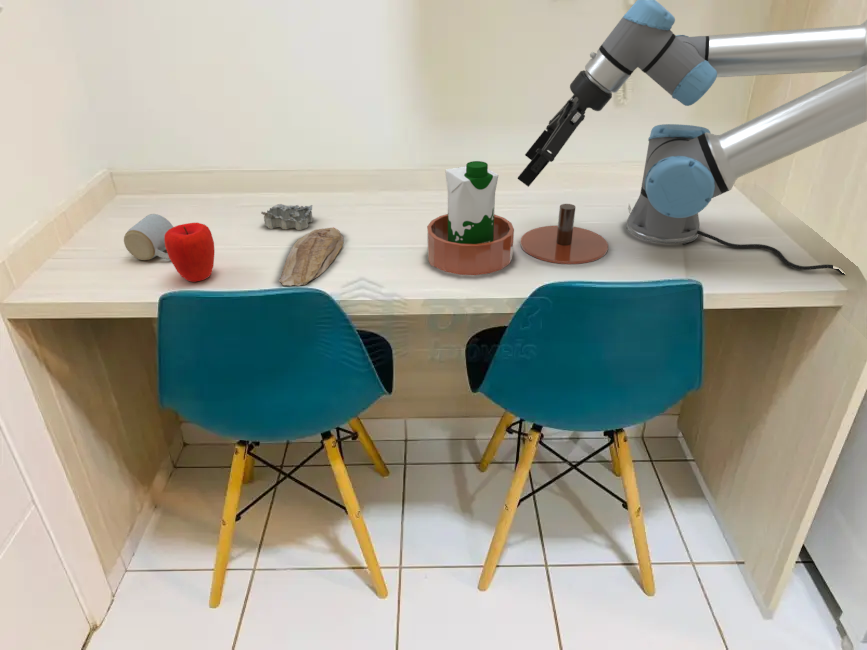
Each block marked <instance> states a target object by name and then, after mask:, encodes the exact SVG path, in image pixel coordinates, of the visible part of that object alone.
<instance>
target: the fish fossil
mask: <svg viewBox="0 0 867 650" xmlns="http://www.w3.org/2000/svg"><path fill="white" fill-rule="evenodd" d="M343 246H344V236H343V234H342V233H341V231H340V230H339V229H337V228H336V227H326V228H319V229H314V230H311V231H310V232H308V233H307V234H305V235H303V236H302V237H300V238H298V239H297V240H296V241H295V243H294V244H293V246H292V247H291V248H290V251H289V254H288V256H287V258H286V260H285V263H284V265H283V268H282V271H281V274H280V278H279V279H278V282H280V283H281V284H282V286H290V287H292V286H297V287H300V286H305V285H307V284H308V283H309V282H310V281H313V280H315V279H316V278H318V277H319V276H321V275H322V274H323V273H324V272H325V271H326V270H328V268H329V267H330V265H331V264H332V263H333V261H334V260H335V259H336V257H337V256H338V254H339V253H340V252H341V250H342V248H343Z"/></svg>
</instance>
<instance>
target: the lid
mask: <svg viewBox="0 0 867 650" xmlns="http://www.w3.org/2000/svg"><path fill="white" fill-rule="evenodd" d="M575 216H576V205H575V204H571V203H562V204H560V205H559V208H558V220H557V225H545V226H539V227H536V228H532V229H530V230H528V231H527V232H525V233H524V234H523V235H521V238H520V242H519V243H520V247H521V249H522V250H523V251H524V252H525V253H526V254H527V255H529V256H530V257H532V258H535V259H537V260H541V261H543V262H548V263H553V264H561V265H581V264H587V263H591V262H594V261H597V260H599V259H601V258H603V257H604V256H605V255H606V254H607V253H608V250H609V243H608V241H607V240H606V238H604V237H603V236H602V235H601V234H598V233H597V232H595V231H592V230H590V229H587V228H583V227H580V226H579V227H578V226H575V218H576V217H575Z"/></svg>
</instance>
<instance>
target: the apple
mask: <svg viewBox="0 0 867 650" xmlns="http://www.w3.org/2000/svg"><path fill="white" fill-rule="evenodd" d="M165 247H166V250H165V251H166V253H168V256H169V258H170V259H169V260H170V261H171V263H172V265H173V267H174V268H175V270H176V272H177V273H178V274H179V275H180V276H181V278H183V279H185V280H186V281H188V282H193V283H196V282H202V281H204V280H206V279H208V278H209V277H210V276H211V275H212V274H213V273H212V272H213V268H214V264H215V263H214V262H215V242H214V238H213V234H212V231H211V229H210V228H209V227H208V226H207V225H206V224H204V223H201V222H188V223H182V224H178V225H175V226H173V228H171V229H169V230H168V231H167V232H166V234H165Z"/></svg>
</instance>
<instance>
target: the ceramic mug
mask: <svg viewBox="0 0 867 650" xmlns="http://www.w3.org/2000/svg"><path fill="white" fill-rule="evenodd" d="M173 227H174V226H173V224H172V223H171V221H169V220H168V219H167V218H166V217H164V216H163V215H160V214H157V213H150V214H147V215H146V216H144V217H143V218H142V219H141V220H139V221H138V222H137V223H135V224H134V225H133V226H132V227H130V228H129V229H128V230H127V231H126V233H125V234H124V236H123V244H124V247H125V249H126V250H127V251H128V253H129V254H130V255H131V256H132V257H134V258H135V259H137V260H140V261H149V260H152V259H154V258H156V257H159V258H161V259H164V260H170V258H169V256H168V253H167V252H165V251H167V250H166V247H165V234H166V232H167V231H168V230H169V229H171V228H173Z"/></svg>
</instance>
